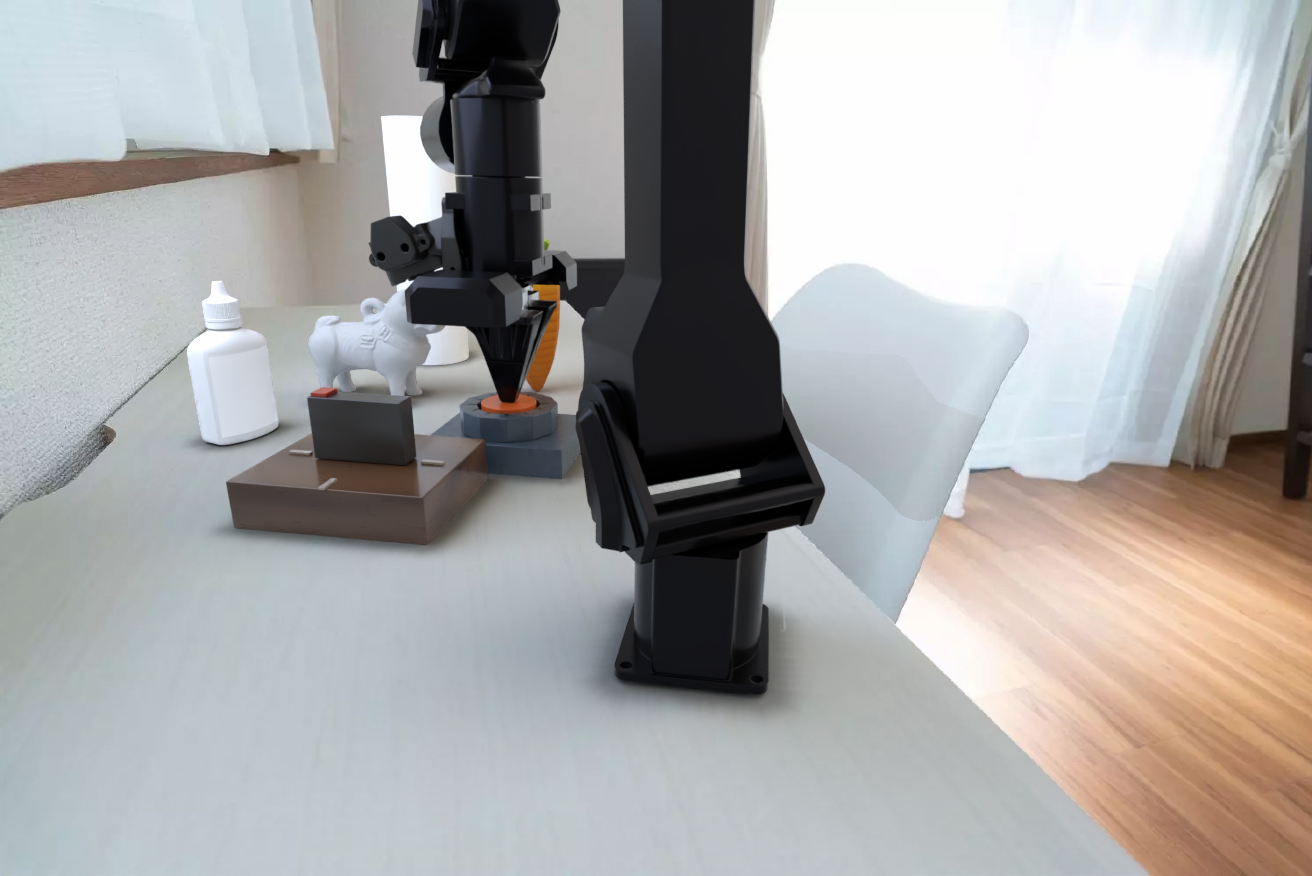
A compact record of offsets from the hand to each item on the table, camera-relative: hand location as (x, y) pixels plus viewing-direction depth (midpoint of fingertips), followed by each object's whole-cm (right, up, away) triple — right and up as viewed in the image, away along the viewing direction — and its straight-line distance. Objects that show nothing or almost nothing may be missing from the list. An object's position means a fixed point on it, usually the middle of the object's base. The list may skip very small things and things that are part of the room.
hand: (508, 401), depth 56 cm
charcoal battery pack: (-7, -4, -8) cm, 12 cm away
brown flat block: (-7, -7, -7) cm, 12 cm away
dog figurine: (-14, +1, +15) cm, 20 cm away
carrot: (-1, +2, +18) cm, 18 cm away
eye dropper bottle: (-22, -3, +4) cm, 22 cm away
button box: (0, -4, +1) cm, 4 cm away
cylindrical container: (-14, +6, +30) cm, 34 cm away
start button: (0, -2, +1) cm, 2 cm away
